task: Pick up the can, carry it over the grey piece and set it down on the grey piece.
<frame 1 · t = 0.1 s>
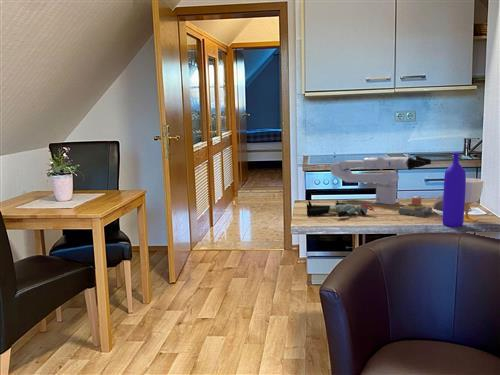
hand: (427, 162, 242), 22 cm above the table, tool horizontal, fingers open, 7 cm apart
can: (416, 208, 244), on the table
grey piece: (415, 213, 234), on the table
toy: (340, 215, 236), on the table
cup: (466, 219, 221), on the table
bottle: (452, 225, 212), on the table
stone: (451, 209, 242), on the table
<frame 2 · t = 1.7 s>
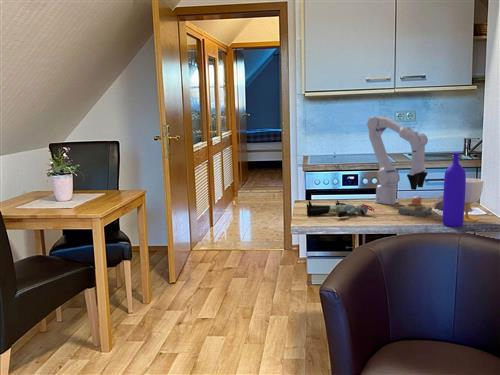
hand: (416, 188, 243), 10 cm above the table, tool pointing down, fingers open, 7 cm apart
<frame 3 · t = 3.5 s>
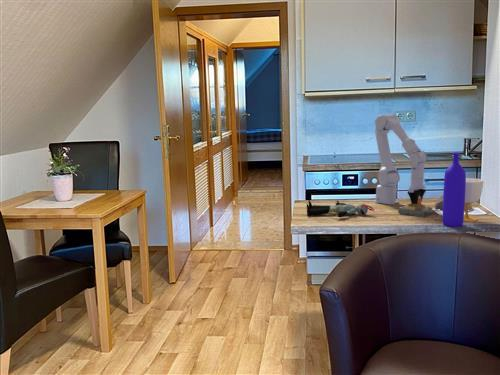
hand: (416, 205, 244), 1 cm above the table, tool pointing down, fingers closed on can, 4 cm apart
can: (416, 208, 244), on the table, touching gripper
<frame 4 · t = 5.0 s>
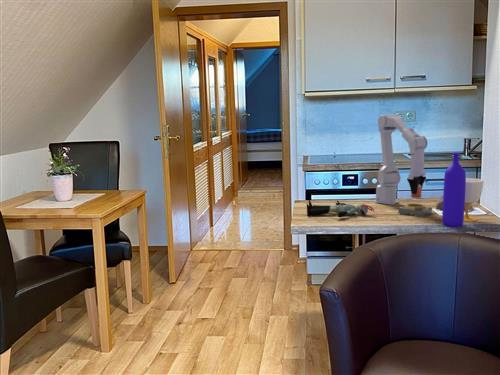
hand: (416, 192, 234), 9 cm above the table, tool pointing down, fingers closed on can, 4 cm apart
can: (416, 197, 235), point 7 cm above the table, touching gripper
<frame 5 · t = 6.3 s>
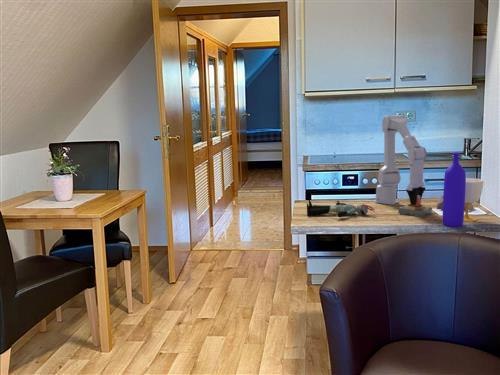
hand: (415, 203, 233), 4 cm above the table, tool pointing down, fingers closed on can, 4 cm apart
can: (415, 207, 233), point 3 cm above the table, touching grey piece, gripper
when the fingers open (4 cm above the table, at t = 6.9 s): can stays where it is, resting on grey piece.
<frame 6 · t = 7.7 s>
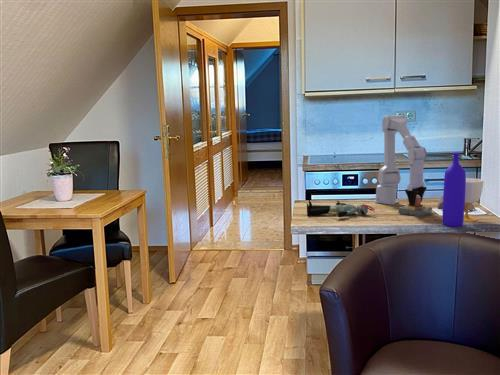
hand: (415, 203, 233), 4 cm above the table, tool pointing down, fingers open, 7 cm apart
can: (415, 207, 233), point 3 cm above the table, touching grey piece
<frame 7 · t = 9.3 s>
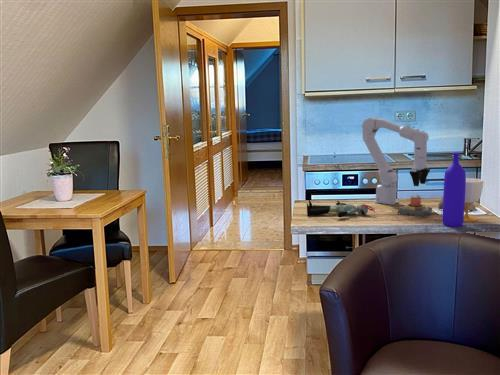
hand: (419, 184, 247), 10 cm above the table, tool pointing down, fingers open, 7 cm apart
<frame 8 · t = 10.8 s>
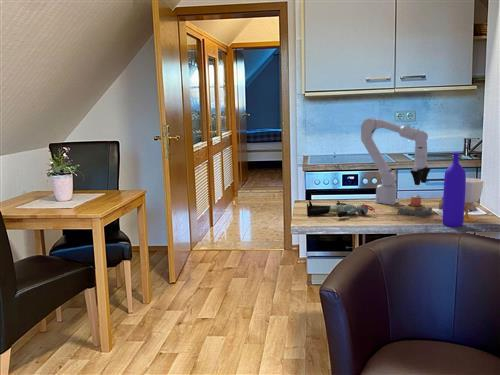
hand: (420, 183, 250), 10 cm above the table, tool pointing down, fingers open, 7 cm apart
at the end: can 0.0 cm off-centre on the grey piece, point 2.5 cm above the grey piece's base; can tilted 1°; the gripper is holding nothing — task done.
